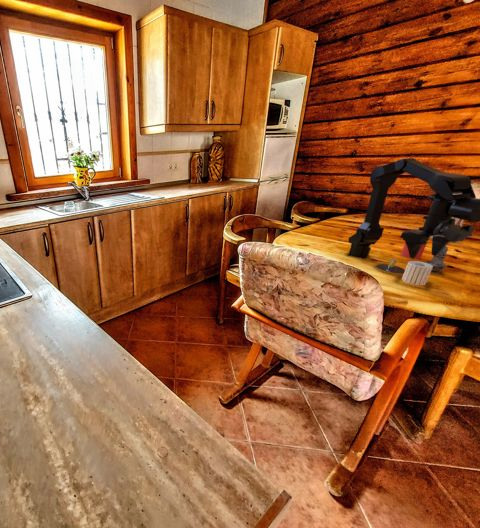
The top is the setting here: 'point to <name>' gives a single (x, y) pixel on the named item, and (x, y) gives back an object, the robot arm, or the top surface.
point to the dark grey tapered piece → (438, 261)
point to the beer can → (406, 252)
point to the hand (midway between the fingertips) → (422, 256)
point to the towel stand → (391, 267)
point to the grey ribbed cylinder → (417, 272)
